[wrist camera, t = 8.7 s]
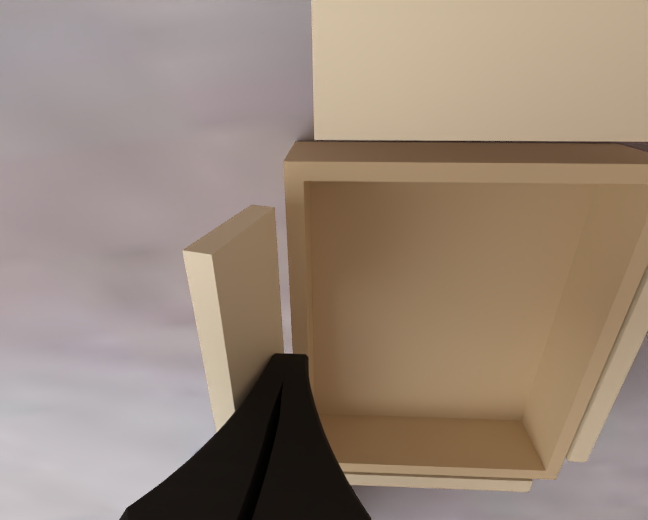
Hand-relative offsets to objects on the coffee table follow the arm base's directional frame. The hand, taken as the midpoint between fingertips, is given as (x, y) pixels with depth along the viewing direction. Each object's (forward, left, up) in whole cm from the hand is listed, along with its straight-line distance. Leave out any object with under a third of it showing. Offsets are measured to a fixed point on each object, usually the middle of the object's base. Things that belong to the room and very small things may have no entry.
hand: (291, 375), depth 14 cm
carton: (0, -6, -5) cm, 8 cm away
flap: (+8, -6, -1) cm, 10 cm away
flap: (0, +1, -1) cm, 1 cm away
